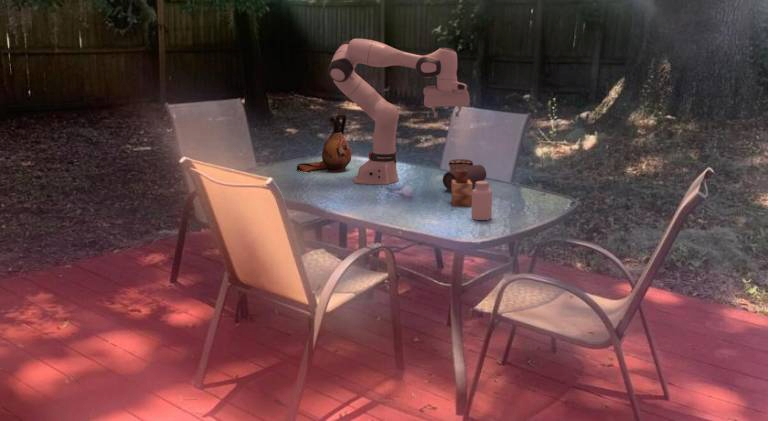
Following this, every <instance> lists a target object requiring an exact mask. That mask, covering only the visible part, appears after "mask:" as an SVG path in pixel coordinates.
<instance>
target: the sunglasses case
mask: <svg viewBox="0 0 768 421" xmlns="http://www.w3.org/2000/svg"><path fill="white" fill-rule="evenodd" d="M297 170H300V171H303V172H307V173H311V172H310V171H313V172H320V171H326V170H327V171H328V168H327V167H326V165H325V164H324V162H323V160H322V161H314V162H313V161H312V162H306V163H305V162H303V163H299V164H297V166H296V171H297ZM319 170H320V171H319ZM300 171H299V172H300ZM303 172H302V173H303Z"/></svg>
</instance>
